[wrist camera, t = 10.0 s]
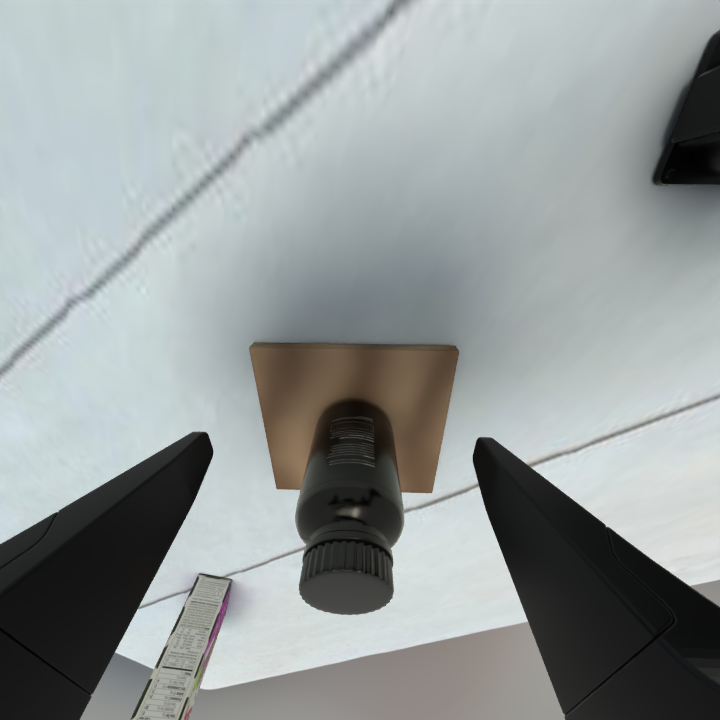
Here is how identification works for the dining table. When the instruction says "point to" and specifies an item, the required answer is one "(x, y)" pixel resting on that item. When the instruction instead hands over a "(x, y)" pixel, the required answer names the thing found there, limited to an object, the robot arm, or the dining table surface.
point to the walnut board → (355, 383)
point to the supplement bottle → (350, 511)
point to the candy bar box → (186, 653)
